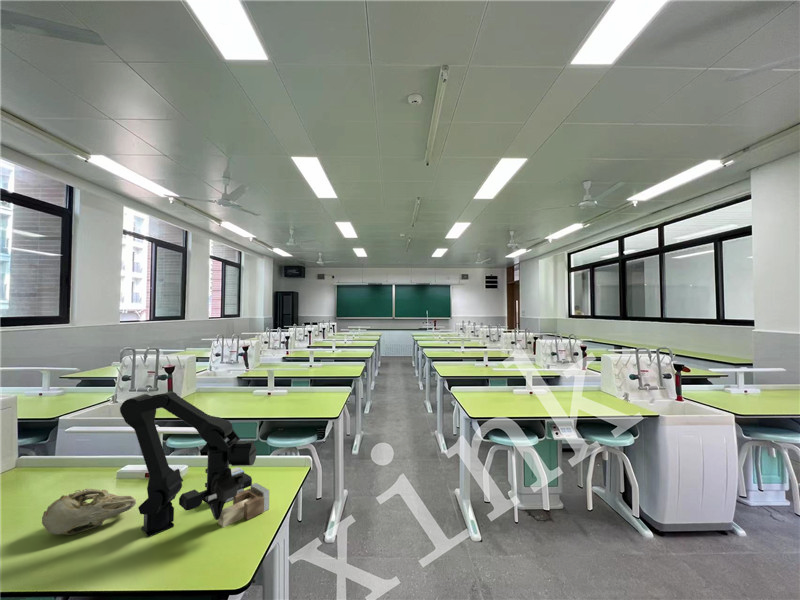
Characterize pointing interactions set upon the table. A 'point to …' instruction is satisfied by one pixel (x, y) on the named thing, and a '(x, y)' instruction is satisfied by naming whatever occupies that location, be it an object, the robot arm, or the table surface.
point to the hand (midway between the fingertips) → (216, 519)
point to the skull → (84, 510)
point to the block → (232, 513)
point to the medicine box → (234, 472)
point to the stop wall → (263, 492)
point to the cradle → (250, 503)
